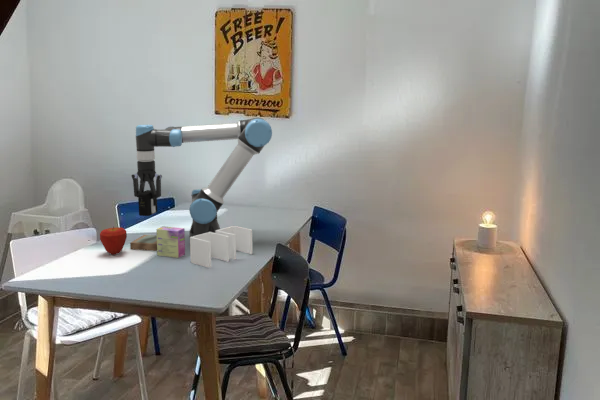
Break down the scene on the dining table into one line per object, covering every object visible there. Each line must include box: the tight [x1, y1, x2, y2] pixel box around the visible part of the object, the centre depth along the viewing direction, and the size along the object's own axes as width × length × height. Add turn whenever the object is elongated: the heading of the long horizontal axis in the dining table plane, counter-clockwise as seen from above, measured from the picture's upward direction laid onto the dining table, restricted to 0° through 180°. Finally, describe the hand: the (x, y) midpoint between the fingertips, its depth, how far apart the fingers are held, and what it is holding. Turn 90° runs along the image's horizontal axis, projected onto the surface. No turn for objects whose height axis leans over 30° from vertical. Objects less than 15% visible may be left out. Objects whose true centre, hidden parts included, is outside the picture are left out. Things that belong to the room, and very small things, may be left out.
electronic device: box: [137, 189, 158, 217], centre depth 258 cm, size 4×10×10 cm, turn 169°
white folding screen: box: [189, 225, 253, 269], centre depth 243 cm, size 25×11×11 cm, turn 141°
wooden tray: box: [129, 234, 157, 252], centre depth 261 cm, size 12×14×3 cm
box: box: [155, 225, 186, 259], centre depth 246 cm, size 10×6×12 cm, turn 71°
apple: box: [99, 226, 128, 256], centre depth 248 cm, size 11×11×12 cm
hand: (148, 212), depth 259 cm, fingers closed on electronic device, 4 cm apart
